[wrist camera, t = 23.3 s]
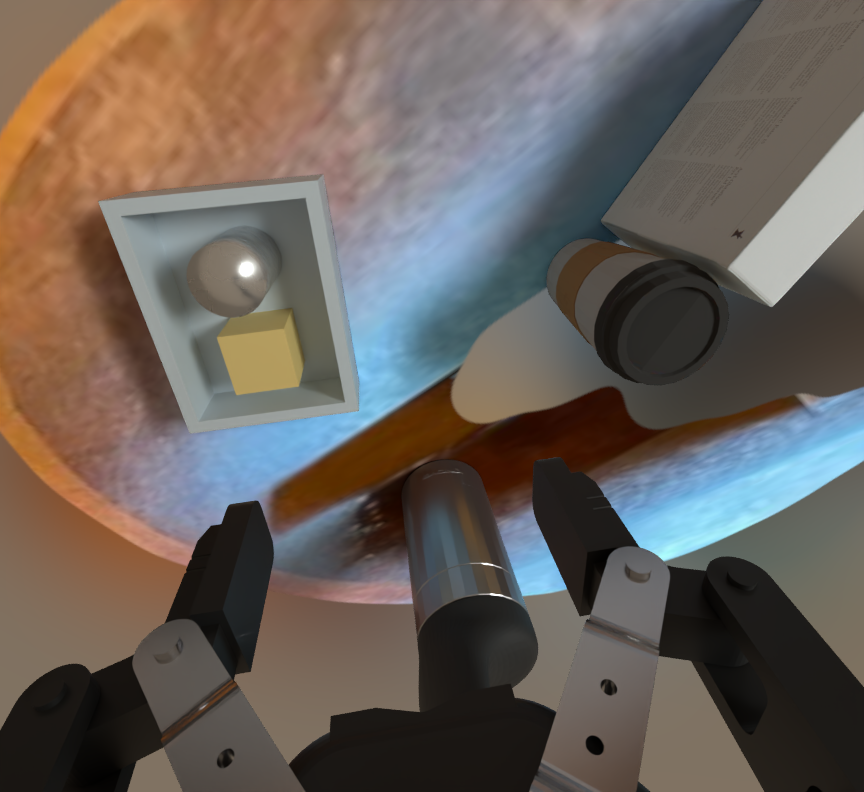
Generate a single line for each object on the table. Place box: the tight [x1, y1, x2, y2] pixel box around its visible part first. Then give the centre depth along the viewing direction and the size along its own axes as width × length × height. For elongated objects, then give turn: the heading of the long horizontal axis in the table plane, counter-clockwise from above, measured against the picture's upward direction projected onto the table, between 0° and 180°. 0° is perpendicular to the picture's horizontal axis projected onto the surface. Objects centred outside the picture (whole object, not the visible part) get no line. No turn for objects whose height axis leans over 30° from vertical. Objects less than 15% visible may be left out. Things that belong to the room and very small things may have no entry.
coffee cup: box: [546, 238, 729, 385], centre depth 36 cm, size 8×8×15 cm
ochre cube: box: [217, 308, 305, 395], centre depth 39 cm, size 5×5×5 cm
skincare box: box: [601, 0, 864, 307], centre depth 31 cm, size 21×5×16 cm, turn 147°
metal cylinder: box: [187, 226, 282, 318], centre depth 35 cm, size 5×5×7 cm
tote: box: [98, 174, 359, 434], centre depth 38 cm, size 18×14×6 cm
